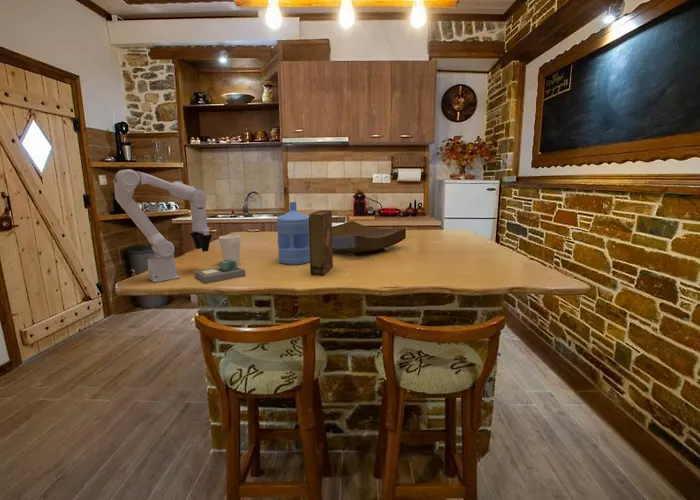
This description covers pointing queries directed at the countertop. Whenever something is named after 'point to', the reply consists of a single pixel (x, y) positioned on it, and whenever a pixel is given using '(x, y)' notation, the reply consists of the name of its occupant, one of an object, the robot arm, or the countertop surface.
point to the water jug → (293, 237)
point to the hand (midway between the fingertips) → (202, 250)
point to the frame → (218, 274)
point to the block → (228, 265)
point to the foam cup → (230, 247)
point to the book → (320, 242)
